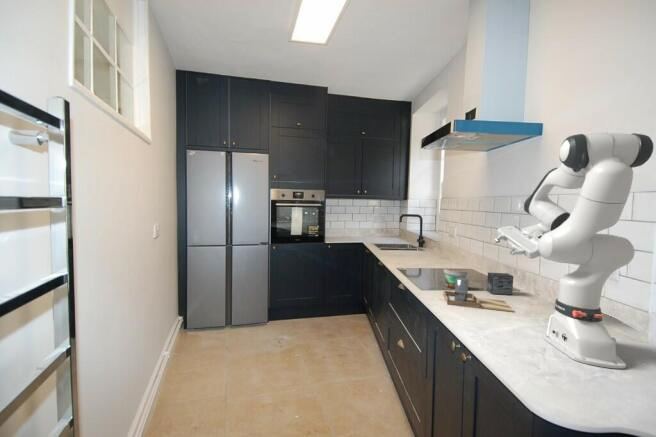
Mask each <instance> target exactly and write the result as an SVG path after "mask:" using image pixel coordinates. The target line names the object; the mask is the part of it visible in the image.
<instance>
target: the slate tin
mask: <svg viewBox="0 0 656 437" xmlns="http://www.w3.org/2000/svg"><path fill="white" fill-rule="evenodd" d="M468 290H469V279H468V278H467V277H466V278H460V277H458V278H456V285H455V289H454V292H455V296H454V299H453V300H455V301H464V302H468V298H467V294H468V293H469V292H468Z"/></svg>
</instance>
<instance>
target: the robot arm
mask: <svg viewBox="0 0 656 437" xmlns="http://www.w3.org/2000/svg"><path fill="white" fill-rule="evenodd" d="M653 152H654V142H653V140H652V138H651V137H650V136H648V135H646V134H642V133H619V132H618V133H617V132H615V133H613V132H612V133H611V132H610V133H609V132H596V133H595V132H594V133H586V134H583V133H578V134H573V135H570V136H567V137H566V138H565V139H564V140H563V142H562V143H561V145H560V148H559V154H558V155H559V161H560V162H561V163H560V165H559V166H558V167H554V168H552V169H550V170H549V171H547V173H546V174H545V175H544V176H543V177H542V178H541V180H540V181H539V183H538V184H537V186H536V187H535V189H534V190H533V192H532V193H531V195H529V197H527V198H526V200H525V201H524V204H523V210H524V212H526V213H527V214H528V215H530V216H532V217H533V218H534V219H536V220H537V221H538V223H537V224H532V225H529V226H526V227H523V228H522V229H521V228H518V226H516V225H506V226H502V227H499V228H498V229H497V231H496V235H497V237H496V238H494V242H495V243H496V244H499V243H500V242H501V240H503V241H504V242H506V243H508V244H509V245H510V246H512V247H513V248H514V249H511V250H509V254H511V255H512V256H515V255H524V256H526V258H528V259H534V260H535V259H536V258H540V257H542V258H543V259H544V260H547V261H552V262H556V263H561V264H569V265H570V264H571V265H579V266H578V268H576V269H575V270H574V271H573V272H570V273H567V274H564V275H562V276H561V277H560V279H559V280H558V289H557V298H556V299H555V301H554V312H553V313H552V314H551V315H550V316H549V320H548V323H547V324H548V325H547V331H546V333H543V334H542V337H541V338H542V339H544V340H545V341H546V342H548V343H549V344H550V345H552V346H553V347H555V348H557V349H558V350H559V351H560V352H562V354H564V355H566V356H567V357H569V358H570V359H572V360H574V361H576V362H579V363H583V364H587V365H590V366H595V367H601V368H608V369H609V368H611V369H626V368H627V364H626V362H624V361H623V360H622V358H620V356H618V354H617V349H616V348H617V347H616V345H617V344H618V343H617V339H616V337H614V336H611V334H610V333H609V331H608V329H607V328H606V326H605V324H604V323H603V319H604V318H603V317H604V316H605V315H604V314H603V312H602V308H601V306H600V305H601V304H600V303H601V299H602V292H603V287H604V285H605V283H606V281H607V280H608V278H610V276H612V274H614V273H615V271H617V270H619V269H620V268H622V267H624V266H627V265H629V264H630V263H631V262H632V261H633V259H634V257H635V254H636V253H635V248H634V245H633V243H632V242H631V241H630V240H629V239H628V238H627V237H622V236H618V235H614V234H609V233H598V232H600V231H604V230H607V229H609V228H612V227H614V226H615V225H617V223H618V222H619V220H620V219H621V215H622V213H623V211H624V209H625V206H626V204H627V202H628V198H629V196H630V192H631V190H632V186H633V185H632V184H633V180H634V179H633V178H634V177H633V176H634V170H633V168H637V167H638V168H639V167H641V166H642V165H644V164H646V163H647V162H648V161H649V160H650V159H651V157H652V155H653ZM554 187H558V188H561V189H565V190H576V189H577V190H578V189H580V191H579V194H578V196H577V200H576V202H575V205H574V207H573V210H572V212H571V213H570V212H568V211H567V210H566V209H564V208H563V207H562V206H560V205H558V204H557V203H556V202H554V201H553V200H552V199H550V197H549V196H548V195H549V193H550V192H551V191H552V189H553V188H554Z"/></svg>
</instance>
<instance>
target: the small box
mask: <svg viewBox="0 0 656 437" xmlns="http://www.w3.org/2000/svg"><path fill="white" fill-rule="evenodd" d="M486 280H487V281H486V282H487V283H486V291H487V293H489V294H490V295H497V296H498V295H500V296H513V287H514V275H512V274H509V273H507V272H504V273H503V272H487V279H486Z"/></svg>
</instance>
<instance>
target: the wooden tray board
mask: <svg viewBox="0 0 656 437" xmlns="http://www.w3.org/2000/svg"><path fill="white" fill-rule="evenodd" d="M442 296H443V297H444V300H445V303H446V305H447V306H448V305H449V306H457V307H466V308H474V309H481V310H491V311H498V312H499V311H500V312H505V313H506V312H507V313H514V312H515V313H516V311H515V310H514V309H513V308H512V307H511V306H510V305H509V304H508V303H507V302H506V301H505V300H499V299H491V298H483V297H476V296H475V294H474V293H469V292H468V294H467V299H472V301H473V302H472V301H471V302H470V301H467V302H464V301H455V300H454V299H449V298H448V297H455V291H449V290H443V292H442Z"/></svg>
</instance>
